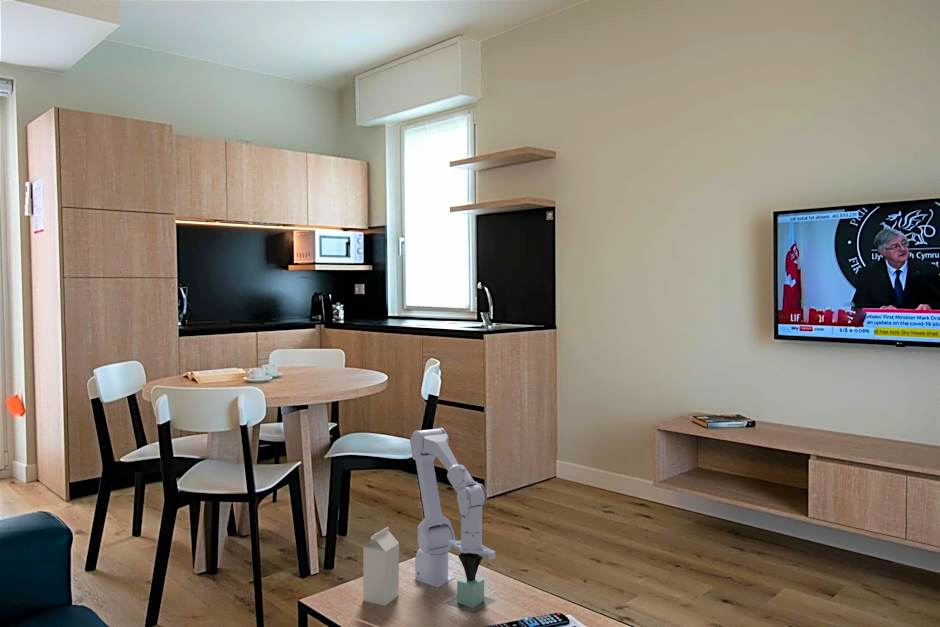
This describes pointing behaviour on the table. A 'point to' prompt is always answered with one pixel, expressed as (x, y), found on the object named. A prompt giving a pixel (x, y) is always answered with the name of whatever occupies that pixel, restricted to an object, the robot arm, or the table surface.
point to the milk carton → (381, 568)
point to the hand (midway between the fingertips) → (470, 579)
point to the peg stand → (475, 609)
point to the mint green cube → (470, 591)
